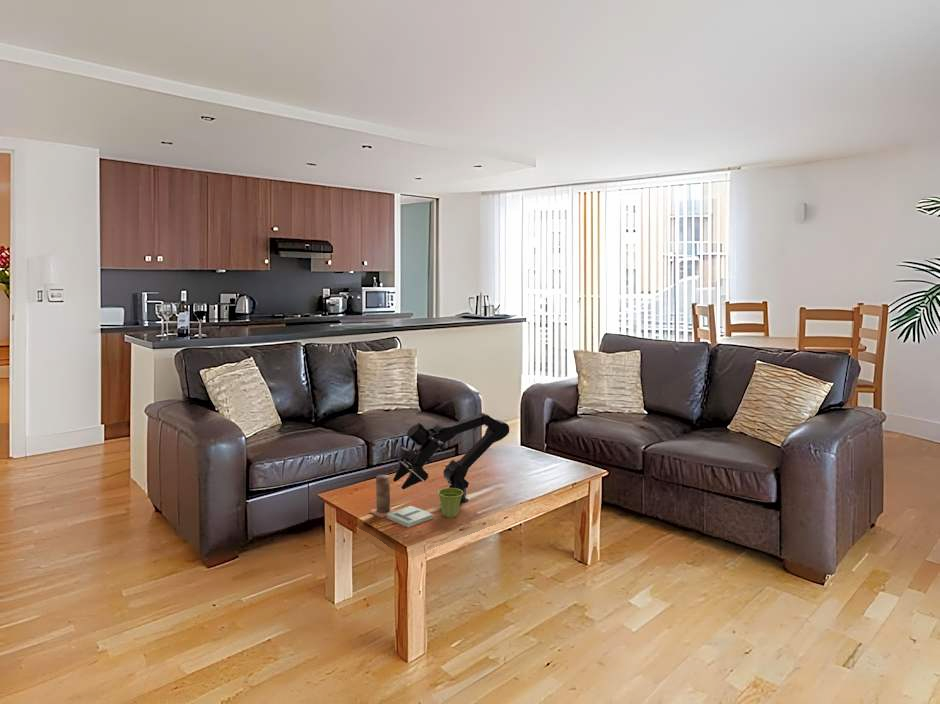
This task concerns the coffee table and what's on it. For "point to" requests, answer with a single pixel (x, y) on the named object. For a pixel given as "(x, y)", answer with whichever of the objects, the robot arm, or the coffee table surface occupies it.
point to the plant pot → (450, 501)
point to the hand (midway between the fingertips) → (398, 484)
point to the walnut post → (383, 493)
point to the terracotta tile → (381, 513)
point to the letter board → (409, 516)
